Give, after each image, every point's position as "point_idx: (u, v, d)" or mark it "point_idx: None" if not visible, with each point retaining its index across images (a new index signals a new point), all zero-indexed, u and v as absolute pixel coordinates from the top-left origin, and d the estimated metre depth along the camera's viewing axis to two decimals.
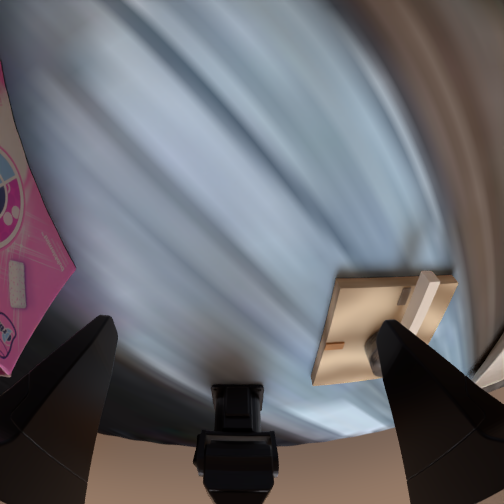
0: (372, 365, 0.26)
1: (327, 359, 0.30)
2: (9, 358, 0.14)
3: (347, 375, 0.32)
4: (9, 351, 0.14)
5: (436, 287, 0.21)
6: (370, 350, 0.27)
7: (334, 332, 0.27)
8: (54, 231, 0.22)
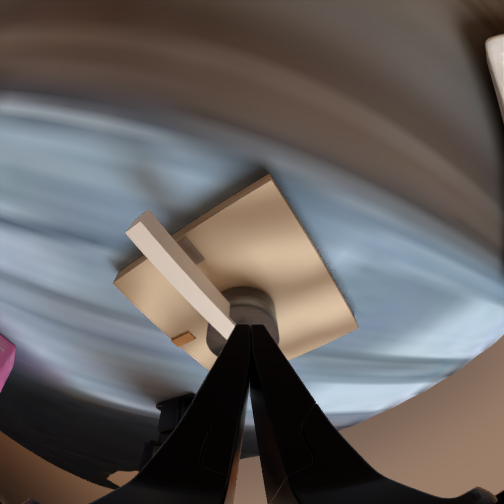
0: None
1: (198, 354, 0.25)
2: None
3: None
4: None
5: (145, 231, 0.15)
6: None
7: (164, 325, 0.23)
8: None
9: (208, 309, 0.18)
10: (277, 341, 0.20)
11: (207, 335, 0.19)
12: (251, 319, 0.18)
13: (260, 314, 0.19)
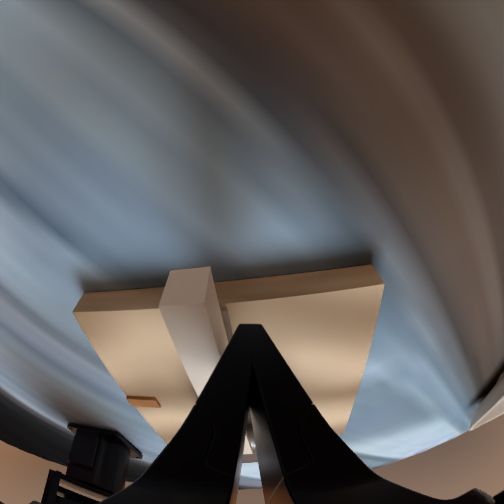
0: None
1: (153, 417, 0.17)
2: None
3: None
4: None
5: (203, 322, 0.07)
6: None
7: (124, 382, 0.15)
8: None
9: None
10: None
11: None
12: None
13: None
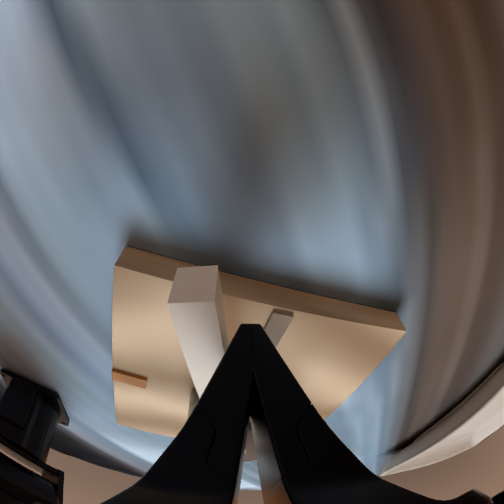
0: None
1: (125, 395, 0.15)
2: None
3: (170, 428, 0.18)
4: None
5: (211, 320, 0.07)
6: None
7: (122, 354, 0.13)
8: None
9: None
10: None
11: None
12: None
13: None
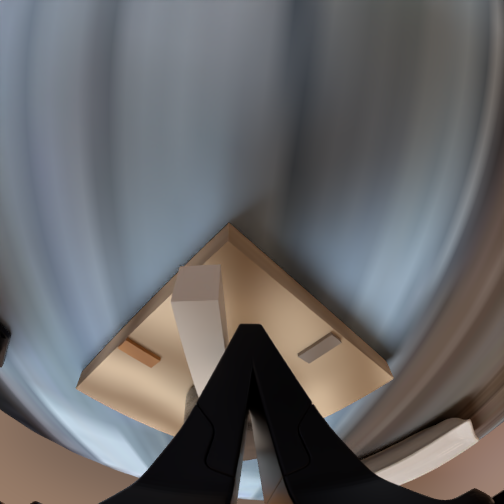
0: None
1: (115, 366, 0.14)
2: None
3: (136, 409, 0.16)
4: None
5: (214, 319, 0.07)
6: None
7: (153, 328, 0.12)
8: None
9: None
10: None
11: None
12: None
13: None
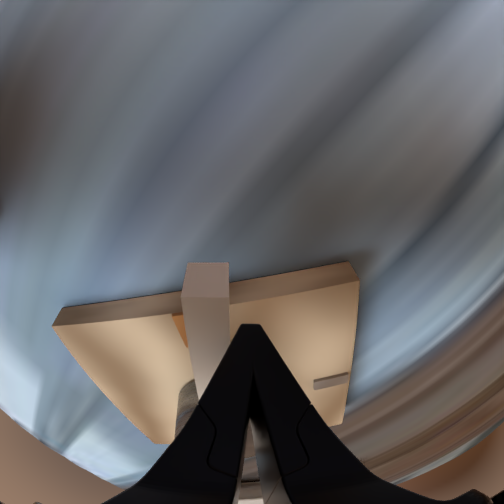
0: None
1: (140, 329, 0.12)
2: None
3: (109, 375, 0.14)
4: None
5: (222, 316, 0.08)
6: None
7: (232, 315, 0.12)
8: None
9: None
10: None
11: None
12: None
13: None
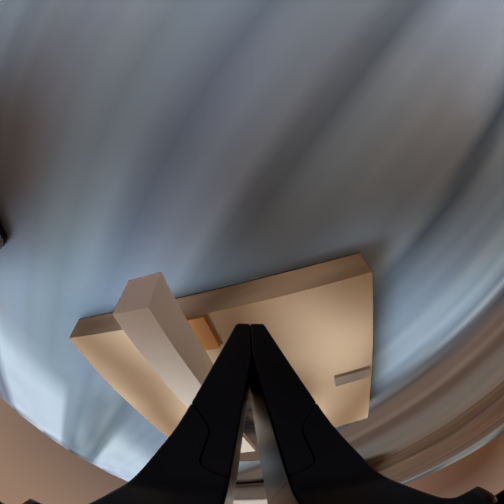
0: None
1: None
2: None
3: (130, 382, 0.15)
4: None
5: (153, 325, 0.08)
6: None
7: (244, 316, 0.12)
8: None
9: None
10: None
11: None
12: None
13: None
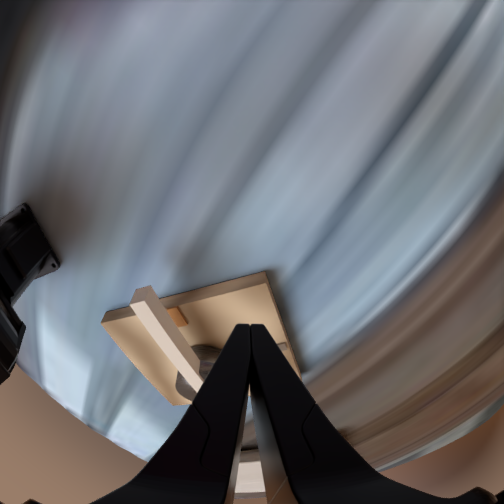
0: None
1: None
2: None
3: (137, 350, 0.25)
4: None
5: (147, 308, 0.17)
6: None
7: (198, 306, 0.22)
8: None
9: (184, 367, 0.21)
10: None
11: (177, 381, 0.22)
12: None
13: None
